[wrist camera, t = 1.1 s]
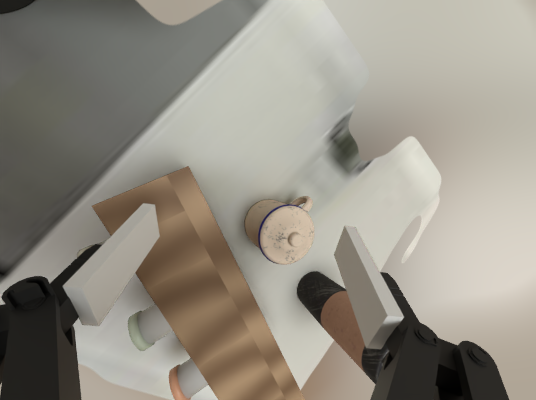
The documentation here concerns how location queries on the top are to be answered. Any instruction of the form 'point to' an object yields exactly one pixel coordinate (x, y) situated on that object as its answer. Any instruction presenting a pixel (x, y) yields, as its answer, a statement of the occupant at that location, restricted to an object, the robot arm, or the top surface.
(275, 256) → the teacup with lid
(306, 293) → the travel mug
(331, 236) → the top surface
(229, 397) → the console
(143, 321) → the sage button
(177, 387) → the terracotta button
